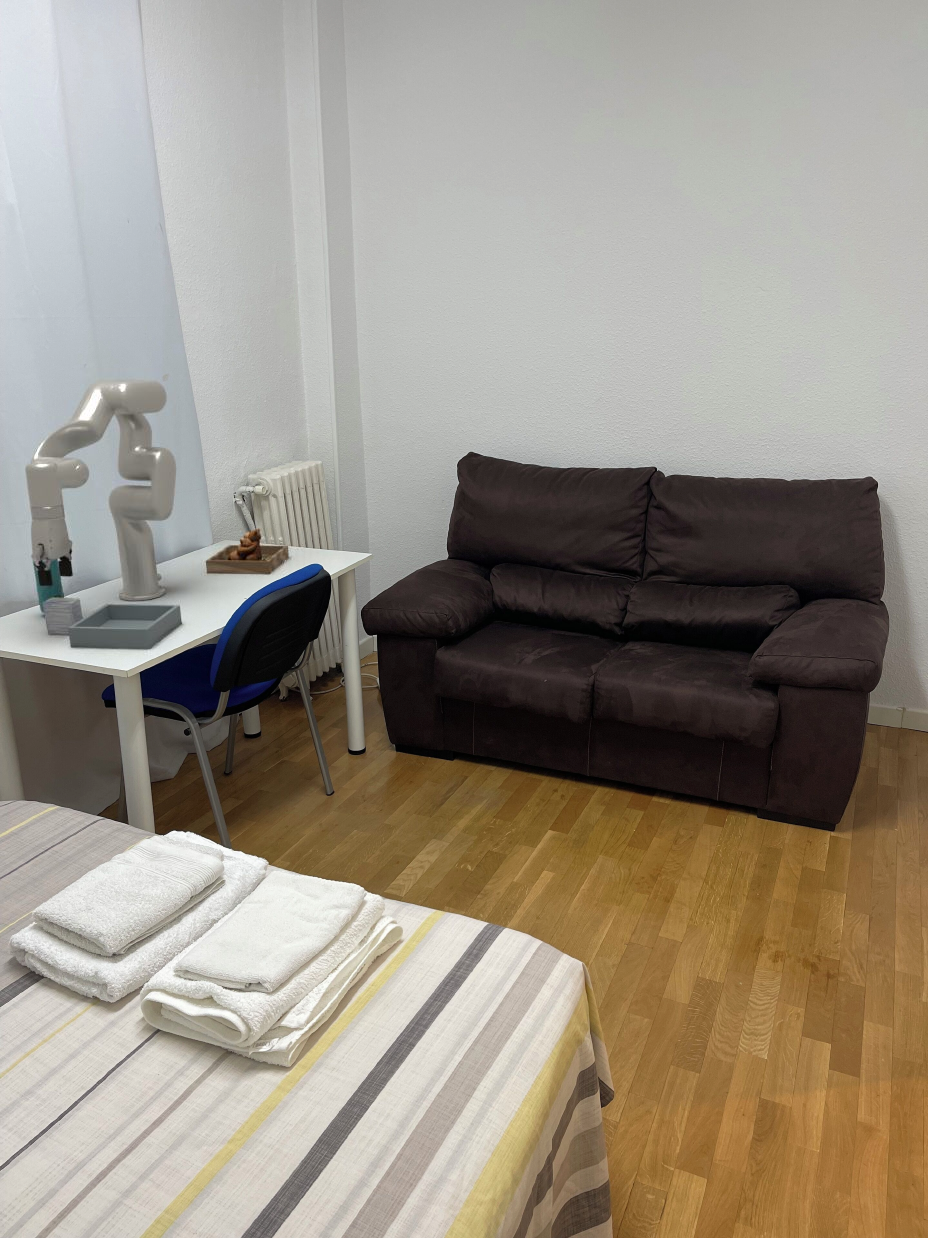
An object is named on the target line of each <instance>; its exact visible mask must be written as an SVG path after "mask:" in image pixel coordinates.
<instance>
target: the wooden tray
mask: <svg viewBox="0 0 928 1238" xmlns="http://www.w3.org/2000/svg"><path fill="white" fill-rule="evenodd" d="M238 546H239V544H238V545H237V544H231V545H230V544H228V545H227V546H226V547H224V548H222V549H221V550H219V551H218V552H216V553H215V554H214V555H212V556H211V557H209V558H208V559H207V560H205V567H206V574H215V575H217V574H219V575H221V574H223V575H224V574H225V575H226V574H227V575H232V574H233V575H270V574H272V573H273V572H274V571H275V570H277V568H279V567H280V566H281V565H282V564H283V563H285V562H286V561H287V560H288V559H289V558H290V557H289V556H290V555H289V545H262V544H260V548H261V553H262V556H268V557H270V558H269V559H268V560H267V561H236V560H226V558H227V557H228V556H229V555H230V554H231V553H232V552H235V551H236V550H237V547H238ZM264 558H266V557H264ZM285 560H286V561H285ZM278 566H279V567H278ZM272 571H273V572H272ZM271 572H272V573H271Z"/></svg>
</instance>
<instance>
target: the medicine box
mask: <svg viewBox="0 0 928 1238" xmlns="http://www.w3.org/2000/svg"><path fill="white" fill-rule="evenodd" d="M43 607H44V613H43V614H44V618H45V619H44V620H45V624H46V625H45V627H46V633H47V634H48V635H58V636H59V635H61V636H62V635H66V636H69V632H68V627H70V626H72V625H73V624H75V623H76V622H78V621H80V620H81V619H83V618H84V617H83V610H82V605H81V599H80V598H79V597H76V598H73V597H64V598H50V599H48V600H46V601H45V602H43Z"/></svg>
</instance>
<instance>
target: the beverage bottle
mask: <svg viewBox="0 0 928 1238" xmlns="http://www.w3.org/2000/svg"><path fill="white" fill-rule="evenodd" d="M58 561H59V558H58V559H55V560H53V561H51V563H50V567H49V570H51V574H52V582H53V585H52V586H40V585H39V578H38V570H36V566H35V565H34V562H33V561H32V564H33V565H32V566H33V571H34V576H35V582H36V583H35V584H36V592H37V598H38V605H39V610H40V611H41V613H43V614H44V607H43V602H45V601H46V600H48V599H50V598H65V593H64V590H63V583H62V576H60V572H59V564H58ZM43 563H44V564H45V563H46V562H43Z"/></svg>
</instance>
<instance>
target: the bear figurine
mask: <svg viewBox="0 0 928 1238" xmlns="http://www.w3.org/2000/svg"><path fill="white" fill-rule="evenodd" d="M260 531H261V529H260V528H258V529H256V528H255V529H254V530H251V531H249V532H246V533H245V534H244V535H243V538H239V542H240V544H238V545H239V546H238V547H237V550H236V551H235V552H232V553H231V554H230V555H229V556H228V557H227V558H226V560H236V561H267V560H268V559H269V558H270V557H268V556H262V553H261V548H260V545H261V544H260V542H261V539H262V535H261V533H260ZM264 557H266V558H264Z"/></svg>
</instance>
